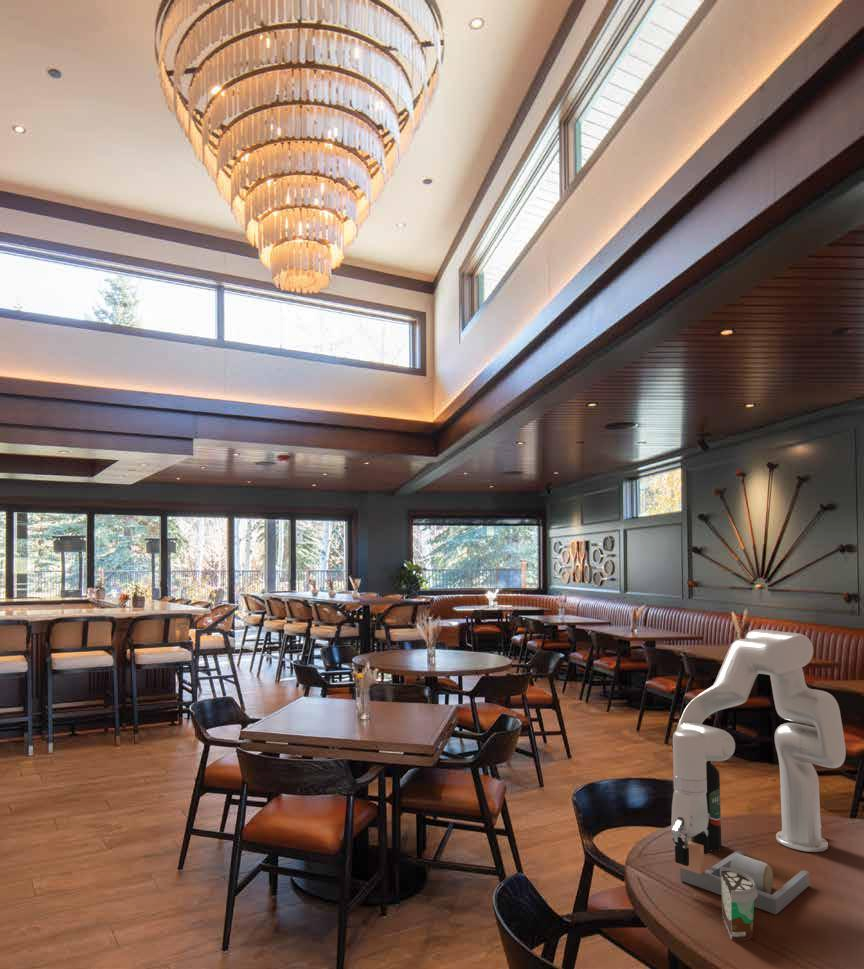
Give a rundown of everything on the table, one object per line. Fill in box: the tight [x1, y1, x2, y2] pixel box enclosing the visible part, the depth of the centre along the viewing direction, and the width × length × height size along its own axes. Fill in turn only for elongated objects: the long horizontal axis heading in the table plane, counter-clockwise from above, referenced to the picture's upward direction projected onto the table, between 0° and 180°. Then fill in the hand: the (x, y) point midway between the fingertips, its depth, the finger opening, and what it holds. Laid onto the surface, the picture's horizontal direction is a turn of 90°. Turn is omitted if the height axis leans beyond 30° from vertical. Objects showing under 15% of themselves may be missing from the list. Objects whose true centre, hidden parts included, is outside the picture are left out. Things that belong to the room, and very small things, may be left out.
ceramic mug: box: [730, 853, 774, 894], centre depth 167 cm, size 11×8×8 cm
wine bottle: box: [691, 761, 722, 852], centre depth 193 cm, size 8×8×30 cm
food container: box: [720, 867, 758, 941], centre depth 148 cm, size 12×6×10 cm, turn 168°
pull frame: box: [679, 838, 810, 915], centre depth 170 cm, size 20×22×9 cm
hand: (691, 858), depth 169 cm, fingers open, 9 cm apart
